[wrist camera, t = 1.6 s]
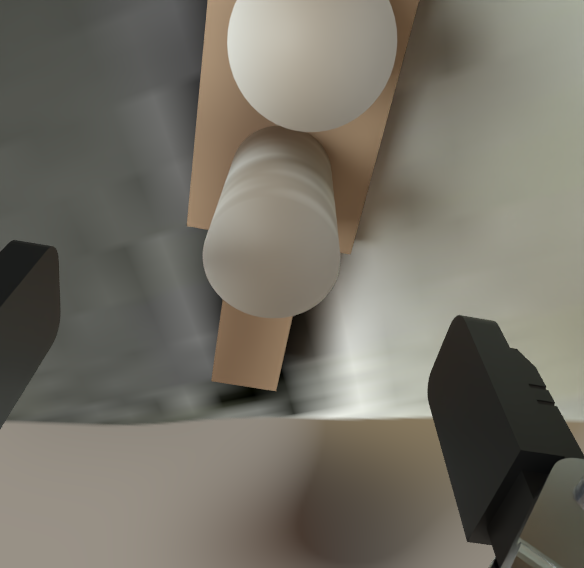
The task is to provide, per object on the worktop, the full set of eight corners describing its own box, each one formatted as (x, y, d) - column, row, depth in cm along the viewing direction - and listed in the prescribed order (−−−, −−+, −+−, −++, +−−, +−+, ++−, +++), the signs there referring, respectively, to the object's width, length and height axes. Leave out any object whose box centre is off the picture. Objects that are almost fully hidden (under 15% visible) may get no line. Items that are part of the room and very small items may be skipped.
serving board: (428, -62, 16) (501, -65, 10) (316, 359, 25) (319, 498, 18) (223, -107, 16) (171, -139, 10) (180, 337, 24) (136, 472, 18)
